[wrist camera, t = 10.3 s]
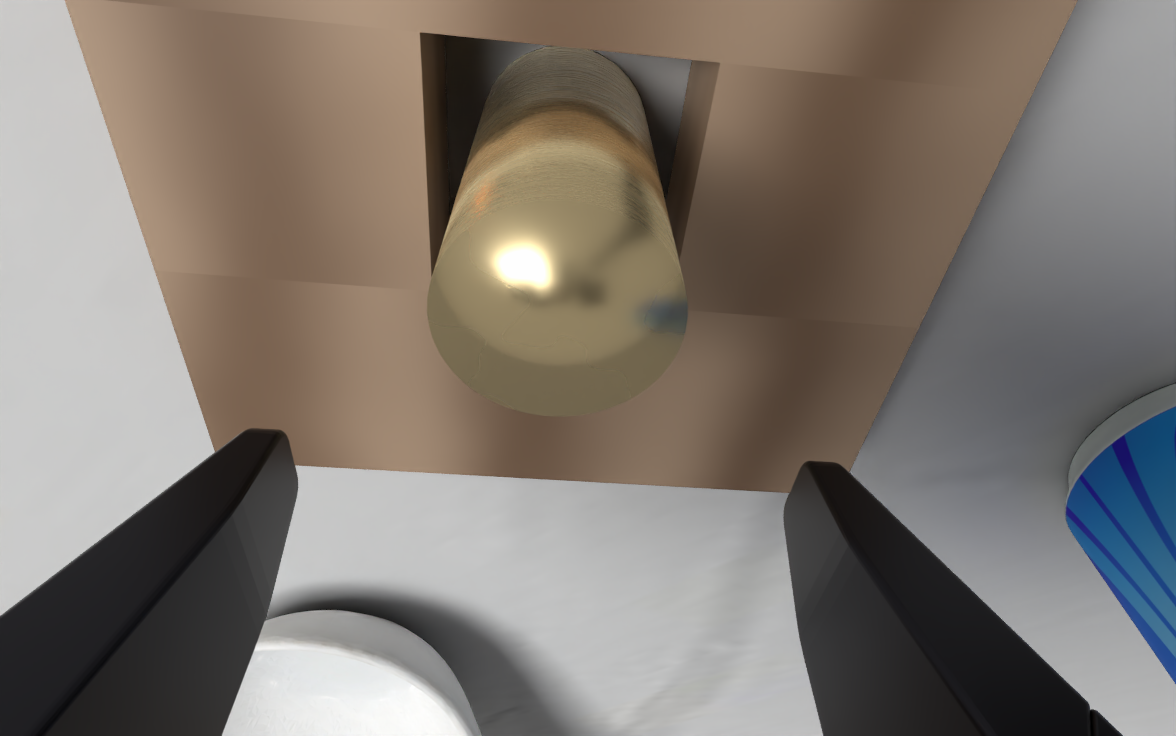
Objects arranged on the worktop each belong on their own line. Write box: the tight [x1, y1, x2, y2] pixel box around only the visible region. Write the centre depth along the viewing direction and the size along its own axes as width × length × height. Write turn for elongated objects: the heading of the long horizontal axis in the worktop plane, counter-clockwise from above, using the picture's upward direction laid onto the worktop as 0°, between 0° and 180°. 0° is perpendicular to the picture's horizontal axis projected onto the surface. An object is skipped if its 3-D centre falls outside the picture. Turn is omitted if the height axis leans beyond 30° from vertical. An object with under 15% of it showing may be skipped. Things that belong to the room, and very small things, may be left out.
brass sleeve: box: [427, 46, 688, 417], centre depth 14 cm, size 4×4×8 cm
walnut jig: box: [65, 0, 1078, 493], centre depth 16 cm, size 18×18×3 cm
